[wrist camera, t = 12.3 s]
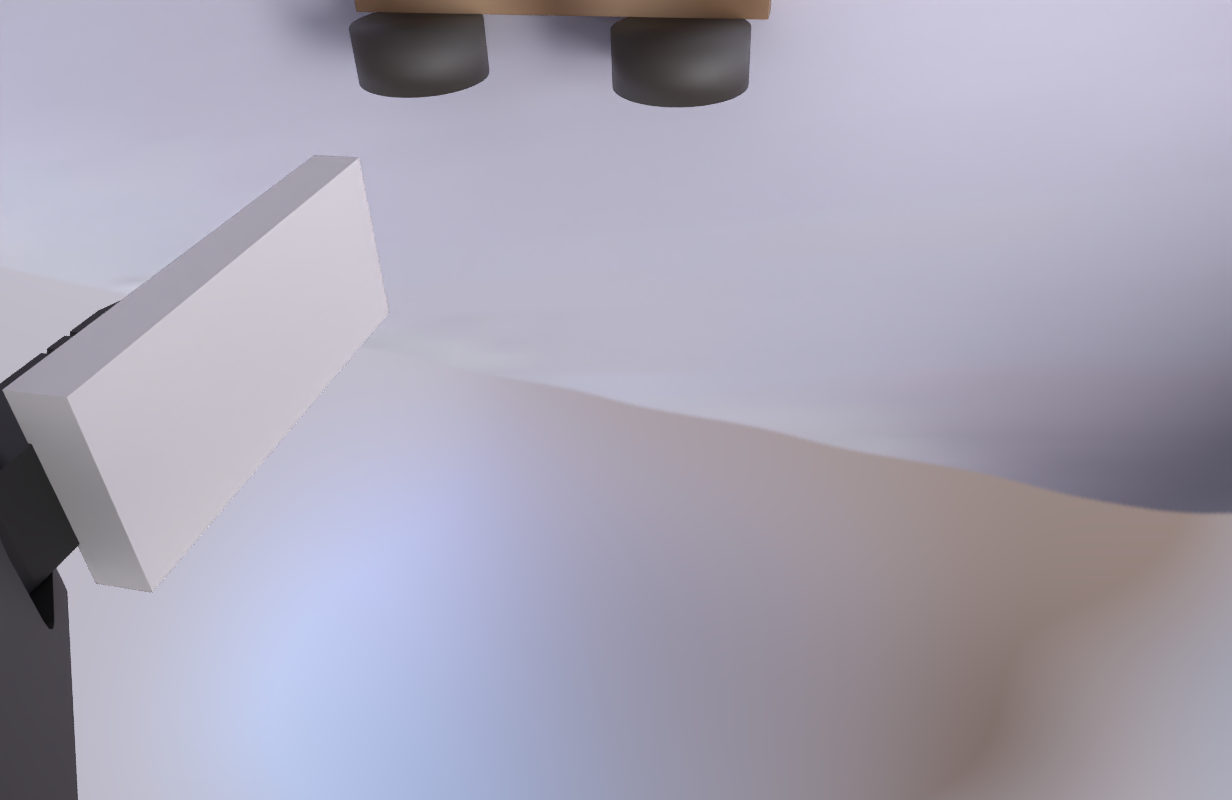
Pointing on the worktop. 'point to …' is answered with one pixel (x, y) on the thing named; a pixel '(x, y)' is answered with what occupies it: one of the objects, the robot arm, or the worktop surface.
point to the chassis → (640, 44)
